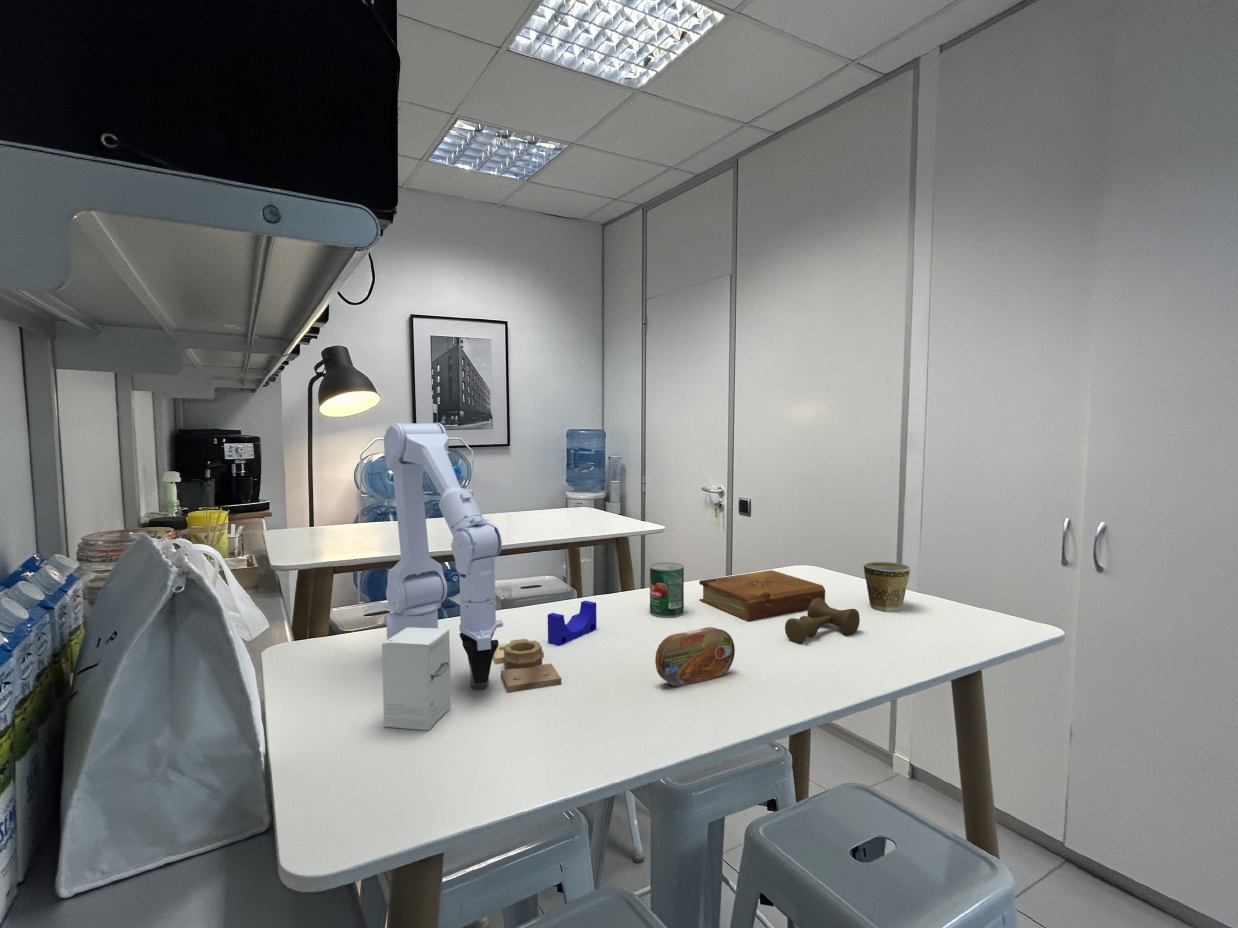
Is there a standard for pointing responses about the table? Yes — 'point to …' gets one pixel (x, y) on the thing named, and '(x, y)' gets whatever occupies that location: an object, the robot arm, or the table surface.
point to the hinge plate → (529, 675)
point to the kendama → (821, 621)
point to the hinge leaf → (518, 652)
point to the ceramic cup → (886, 585)
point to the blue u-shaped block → (572, 624)
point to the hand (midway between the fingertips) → (479, 678)
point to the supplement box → (416, 678)
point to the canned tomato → (666, 589)
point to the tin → (694, 656)
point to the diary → (760, 594)
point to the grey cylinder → (480, 685)
